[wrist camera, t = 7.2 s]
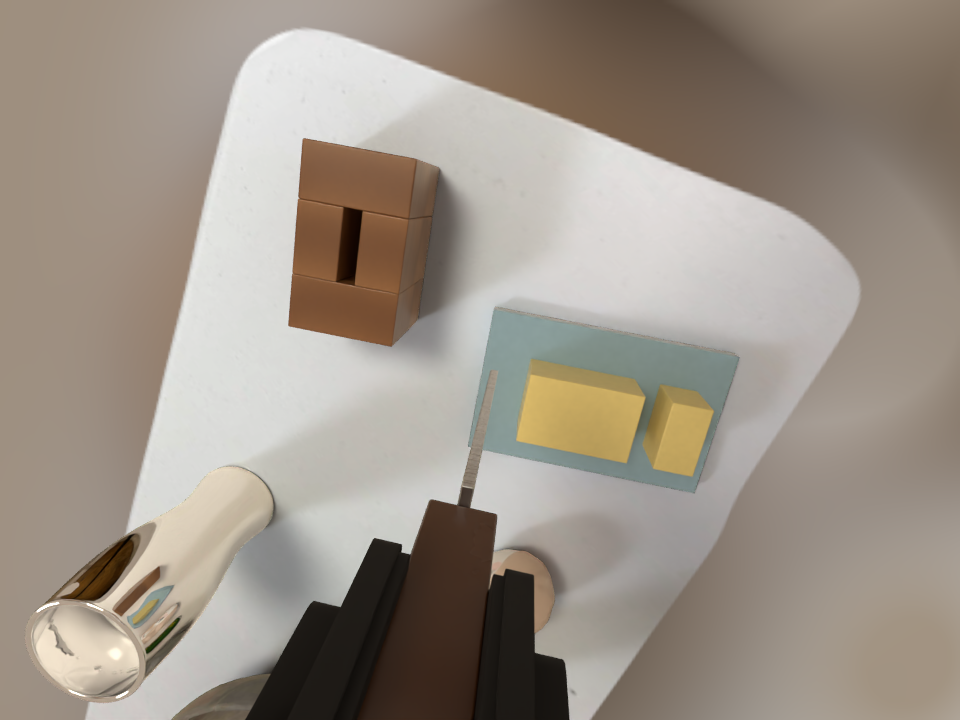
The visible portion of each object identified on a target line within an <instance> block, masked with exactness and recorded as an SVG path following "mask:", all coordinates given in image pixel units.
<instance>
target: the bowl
mask: <svg viewBox="0 0 960 720" xmlns="http://www.w3.org/2000/svg"><path fill="white" fill-rule="evenodd" d="M269 676H270V673H269V674H261V675H254V676H250V677H246V678H240V679H237V680H234V681H231V682H228V683H225V684H221V685H219V686H217V687H215V688H213V689H211V690H209V691H208V692H206V693H204V694H203V695H201V696H199V697H198V698H196V699H195V700H194V701H192V702H191V703H190V704H188V705H187V706H186V707H185V708H183V709H182V710H181V711H180V712H179V713H178V714H176V715H175V716H174V717H173V718H172V720H245V719H246V717H247V715H248V714H249V712H250V710H251V708H252V707H253V705H254V703H255V701H256V699H257V698H258V696H259V694H260V692H261V690H262V689H263V687H264V685H265V683H266V681H267V680H268V678H269Z"/></svg>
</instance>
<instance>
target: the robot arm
mask: <svg viewBox="0 0 960 720" xmlns="http://www.w3.org/2000/svg"><path fill="white" fill-rule="evenodd" d="M401 550H402V544H398V543H394V542H389V541H385V540H381V539H376V538H374V539H373V541H372V543H371V545H370V547H369V549H368V551H367V553H366V555H365V557H364V559H363V562H362V564H361V566H360V568H359V570H358V572H357V574H356V576H355V578H354V580H353V583H352V585H351V587H350V589H349V591H348V593H347V595H346V597H345V599H344V601H343V604H342V606H341V607H337V606H333V605H329V604H325V603H320V602H316V601H313V602H312V603H311V604H310V605H309V607H308V608H307V610H306V611H305V613H304V615H303V617H302V619H301V620H300V622H299V624H298V626H297V628H296V629H295V631H294V633H293V635H292V637H291V638H290V640H289V642H288V644H287V646H286V647H285V649H284V651H283V653H282V655H281V656H280V658H279V660H278V662H277V663H276V665H275V667H274V669H273V671H272V672H271V674H270V676H269V678H268V680H267V681H266V683H265V685H264V687H263V689H262V690H261V692H260V694H259V696H258V698H257V699H256V701H255V703H254V705H253V707H252V708H251V710H250V712H249V714H248V715H247V717H246V719H245V720H357V719H358V716H359V713H360V710H361V707H362V704H363V701H364V698H365V695H366V692H367V689H368V686H369V683H370V681H371V678H372V675H373V672H374V669H375V666H376V663H377V660H378V657H379V654H380V651H381V648H382V645H383V642H384V639H385V636H386V634H387V631H388V628H389V625H390V622H391V619H392V616H393V613H394V610H395V607H396V604H397V601H398V598H399V595H400V592H401V589H402V587H403V584H404V581H405V578H406V575H407V572H408V568H409V563H410V556H411V555H410V554H406V553H401ZM474 720H569V707H568V692H567V678H566V668H565V663H564V660H562V659H558V658H554V657H550V656H545V655H541V654H537V653H535V619H534V575H533V574H528V573H524V572H520V571H515V570H511V569H507V568H506V569H505V572H504V575H503V576H501V575H497V574H493V577H492V581H491V585H490V589H489V595H488V604H487V612H486V621H485V630H484V639H483V647H482V656H481V665H480V674H479V682H478V691H477V700H476V709H475V717H474Z"/></svg>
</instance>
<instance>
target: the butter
mask: <svg viewBox="0 0 960 720" xmlns="http://www.w3.org/2000/svg"><path fill="white" fill-rule="evenodd" d="M645 398H646V397H645V395H644V394H643V392H642V390H641V388H640V387H639V385H638V383H637V382H636V380H635V379H632V378H627V377H622V376H617V375H612V374H606V373H601V372H596V371H591V370H586V369H581V368H576V367H571V366H566V365H561V364H556V363H551V362H546V361H541V360H536V359H531V360H530V364H529V369H528V374H527V378H526V383H525V387H524V392H523V397H522V401H521V406H520V411H519V415H518V422H517V436H516V441H519V442H524V443H529V444H534V445H538V446H543V447H548V448H553V449H558V450H563V451H568V452H573V453H578V454H583V455H587V456H592V457H597V458H602V459H607V460H612V461H617V462H622V463H627V461H628V458H629V454H630V451H631V447H632V444H633V440H634V437H635V433H636V430H637V426H638V423H639V419H640V416H641V412H642V409H643V405H644V402H645Z"/></svg>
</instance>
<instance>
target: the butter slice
mask: <svg viewBox="0 0 960 720" xmlns="http://www.w3.org/2000/svg"><path fill="white" fill-rule="evenodd" d="M713 413H714V410H713V409H712V408H711V407H710V406H709V404H708V403H707V402H706V401H705V400H704V399H703V398H702V396H701V395H700V394H699V393H698V392H697V391H692V390H687V389H682V388H677V387H672V386H667V385H662V384H661V385H660V386H659V390H658V393H657V397H656V400H655V403H654V407H653V410H652V414H651V417H650V420H649V424H648V427H647V431H646V434H645V437H644V441H643V444H642V445H643V447H644V450H645V452H646V454H647V456H648V459H649V461H650V463H651V465H652V467H653V469H656V470H661V471H666V472H671V473H676V474H681V475H686V476H690V477H693V474H694V471H695V468H696V465H697V462H698V459H699V456H700V453H701V450H702V447H703V444H704V441H705V438H706V435H707V432H708V429H709V426H710V423H711V420H712V416H713Z"/></svg>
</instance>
